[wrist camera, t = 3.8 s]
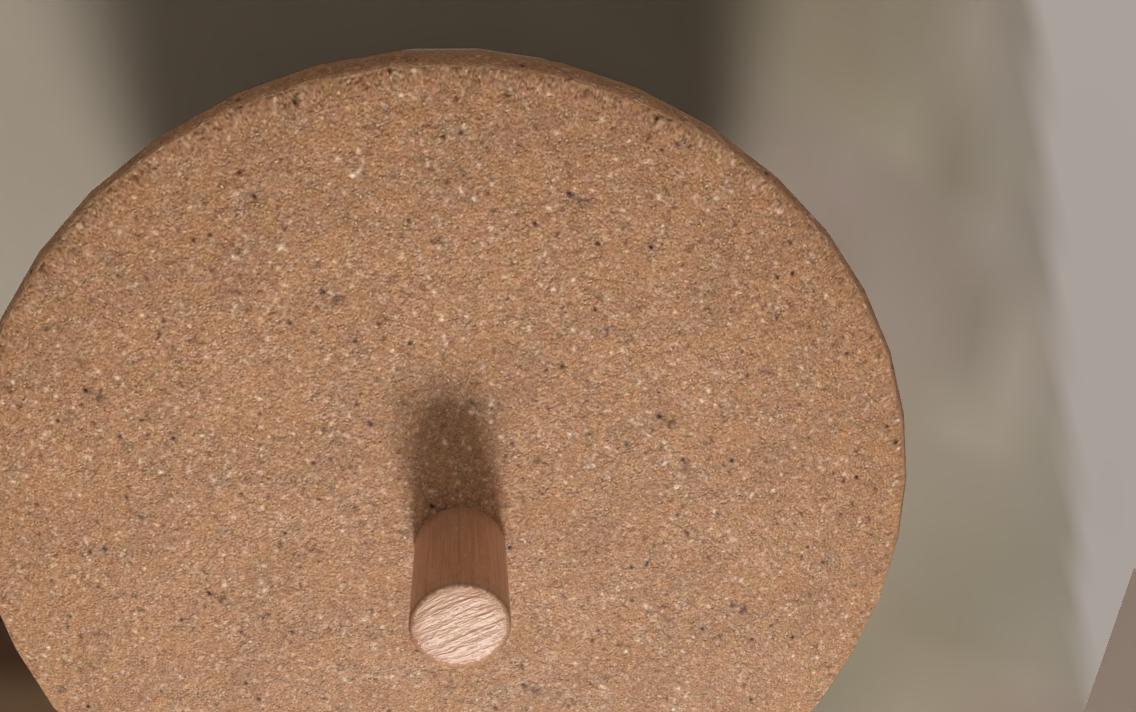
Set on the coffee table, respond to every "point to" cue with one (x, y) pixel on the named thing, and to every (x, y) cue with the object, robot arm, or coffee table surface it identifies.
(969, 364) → the coffee table surface
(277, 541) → the lidded jar
